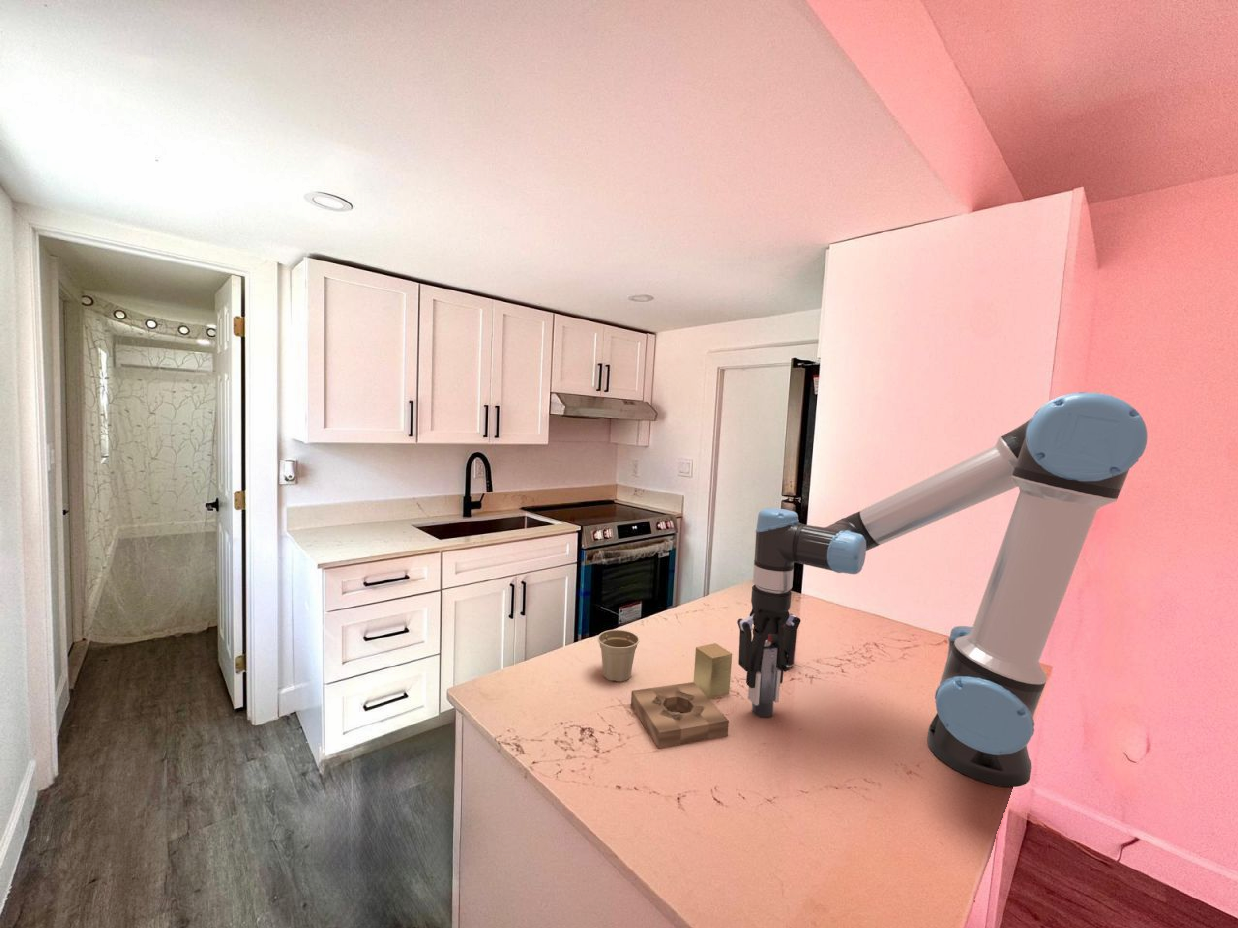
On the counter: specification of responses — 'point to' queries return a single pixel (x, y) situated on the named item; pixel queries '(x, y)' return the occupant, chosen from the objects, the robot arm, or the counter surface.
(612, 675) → the flower pot
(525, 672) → the counter surface
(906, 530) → the robot arm
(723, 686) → the square bit
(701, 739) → the socket block
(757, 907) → the counter surface
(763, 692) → the round bit
